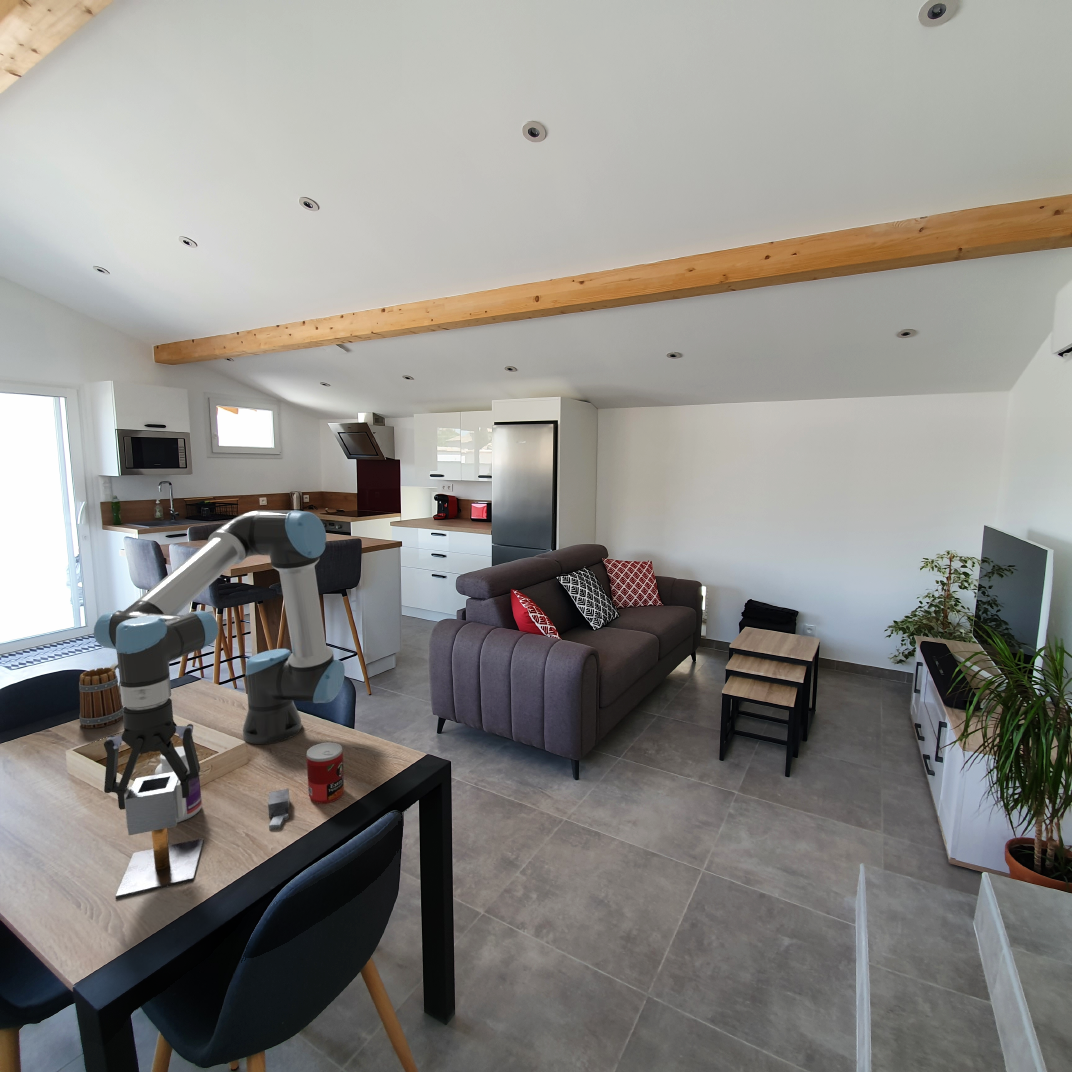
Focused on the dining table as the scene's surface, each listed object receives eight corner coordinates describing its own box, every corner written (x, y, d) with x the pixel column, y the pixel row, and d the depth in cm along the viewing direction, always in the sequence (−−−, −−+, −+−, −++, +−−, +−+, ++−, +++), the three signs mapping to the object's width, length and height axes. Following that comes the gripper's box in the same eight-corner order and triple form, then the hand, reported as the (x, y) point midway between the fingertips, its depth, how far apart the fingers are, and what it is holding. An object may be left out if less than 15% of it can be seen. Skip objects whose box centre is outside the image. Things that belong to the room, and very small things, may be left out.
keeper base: (133, 855, 113) (129, 813, 112) (203, 840, 118) (200, 800, 116) (115, 899, 102) (110, 852, 101) (193, 880, 106) (189, 836, 105)
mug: (106, 729, 165) (101, 679, 163) (70, 729, 165) (64, 679, 163) (144, 705, 180) (140, 660, 178) (111, 705, 180) (106, 659, 178)
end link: (139, 812, 110) (136, 778, 109) (183, 803, 113) (181, 770, 112) (128, 835, 103) (125, 799, 102) (176, 826, 106) (173, 790, 105)
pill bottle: (196, 798, 132) (191, 739, 130) (206, 814, 126) (201, 752, 124) (155, 813, 126) (149, 752, 124) (164, 830, 121) (158, 766, 119)
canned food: (333, 806, 129) (331, 760, 128) (301, 801, 131) (298, 756, 129) (350, 787, 137) (349, 743, 135) (320, 783, 138) (318, 740, 137)
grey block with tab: (270, 804, 130) (269, 792, 129) (289, 800, 131) (288, 788, 131) (267, 831, 120) (266, 818, 120) (288, 827, 122) (287, 814, 122)
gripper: (71, 719, 98) (84, 843, 101) (207, 701, 105) (215, 817, 108) (86, 702, 105) (98, 818, 108) (213, 686, 112) (220, 795, 115)
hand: (157, 817), depth 108 cm, fingers closed on end link, 7 cm apart
